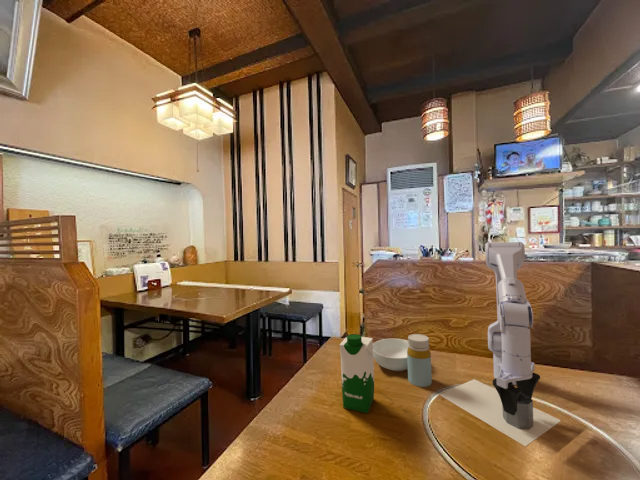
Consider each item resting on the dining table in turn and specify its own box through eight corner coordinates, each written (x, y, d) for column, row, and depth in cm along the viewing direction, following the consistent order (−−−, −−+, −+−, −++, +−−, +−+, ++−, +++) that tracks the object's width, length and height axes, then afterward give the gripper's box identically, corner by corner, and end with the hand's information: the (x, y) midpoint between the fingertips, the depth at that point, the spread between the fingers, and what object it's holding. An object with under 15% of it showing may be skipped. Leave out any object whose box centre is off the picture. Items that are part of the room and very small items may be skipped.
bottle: (434, 391, 81) (432, 342, 81) (409, 389, 83) (408, 341, 82) (429, 379, 88) (427, 333, 88) (407, 378, 90) (405, 333, 89)
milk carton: (339, 409, 75) (336, 337, 75) (349, 391, 83) (347, 327, 83) (370, 416, 71) (367, 341, 71) (377, 397, 79) (375, 330, 79)
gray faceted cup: (510, 410, 70) (509, 387, 70) (536, 423, 65) (535, 398, 65) (499, 419, 67) (498, 395, 67) (525, 432, 62) (525, 406, 62)
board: (474, 382, 85) (473, 379, 85) (561, 425, 65) (561, 420, 65) (439, 398, 78) (439, 394, 78) (525, 451, 58) (525, 446, 58)
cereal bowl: (371, 355, 107) (370, 337, 107) (414, 356, 105) (414, 338, 105) (373, 377, 91) (373, 356, 91) (425, 379, 88) (424, 358, 88)
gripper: (512, 339, 73) (513, 389, 73) (482, 353, 65) (484, 408, 66) (544, 348, 67) (545, 402, 67) (515, 365, 59) (517, 426, 59)
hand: (517, 406), depth 66 cm, fingers open, 7 cm apart
